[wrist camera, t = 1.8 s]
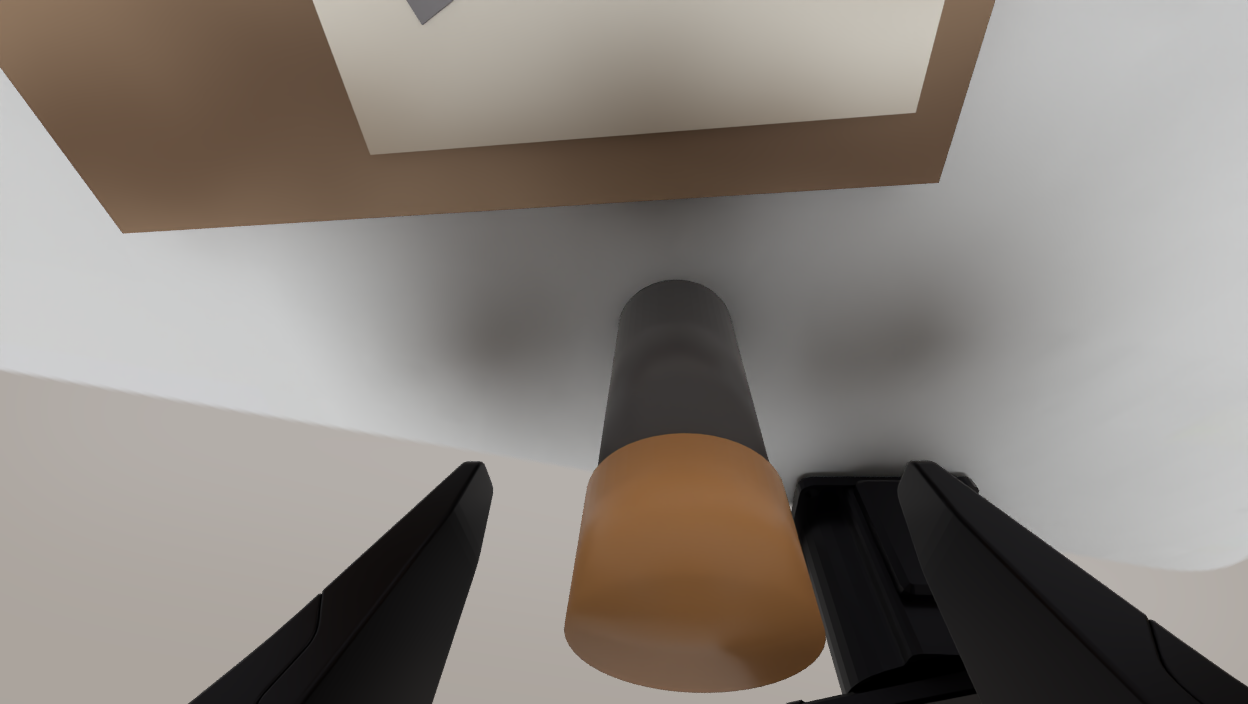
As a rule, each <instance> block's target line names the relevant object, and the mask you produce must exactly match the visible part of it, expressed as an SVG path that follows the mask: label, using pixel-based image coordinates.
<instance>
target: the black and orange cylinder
mask: <svg viewBox="0 0 1248 704" xmlns="http://www.w3.org/2000/svg"><path fill="white" fill-rule="evenodd" d="M564 632H565V637H566V640H567V642H568V644H569V646H570V647H571V649H572V650H573V651H574V652H575V653H576V654H577V655H578V656H579V657H580V658H581V659H582V660H583V661H585V662H586V663H587V664H589V665H590V666H592V667H594V668H595V669H597V670H599V671H601V672H603V673H605V674H607V675H610V676H612V677H615V678H617V679H620V680H623V681H626V682H630V683H633V684H637V685H641V686H645V687H651V688H656V689H661V690H669V691H678V692H692V693H713V692H714V693H715V692H730V691H738V690H746V689H752V688H757V687H761V686H765V685H769V684H772V683H776V682H778V681H781V680H784V679H787V678H789V677H791V676H793V675H795V674H797V673H799V672H801V671H802V670H804V669H806V668H807V667H808V666H809V665H811V664H812V663H813V662H814V661H815V660H816V659H817V658H818V657H819V655H820V653H821V652H822V650H823V648H824V645H825V641H826V635H825V629H824V625H823V622H822V618H821V615H820V611H819V608H818V604H817V601H816V597H815V594H814V590H813V587H812V583H811V580H810V576H809V573H808V569H807V566H806V562H805V559H804V555H803V552H802V548H801V545H800V541H799V538H798V534H797V531H796V527H795V524H794V520H793V517H792V513H791V510H790V506H789V503H788V499H787V496H786V492H785V489H784V486H783V483H782V480H781V478H780V476H779V474H778V473H777V471H776V470H775V468H774V467H773V466H772V465H771V464H770V463H769V460H768V457H767V453H766V449H765V445H764V442H763V438H762V434H761V430H760V427H759V423H758V419H757V415H756V412H755V408H754V404H753V400H752V397H751V393H750V389H749V385H748V382H747V378H746V374H745V370H744V366H743V363H742V359H741V355H740V351H739V348H738V344H737V340H736V336H735V333H734V329H733V325H732V321H731V318H730V314H729V312H728V309H727V307H726V305H725V304H724V303H723V301H722V300H721V299H720V298H719V297H718V296H717V295H716V294H715V293H714V292H713V291H711V290H710V289H708V288H706V287H704V286H702V285H700V284H697V283H694V282H690V281H683V280H669V281H663V282H658V283H655V284H653V285H650V286H648V287H646V288H644V289H642V290H641V291H639V292H638V293H637V294H636V295H634V296H633V297H632V298H631V299H630V301H629V302H628V303H627V304H626V306H625V307H624V309H623V311H622V313H621V316H620V320H619V326H618V332H617V339H616V346H615V353H614V360H613V366H612V373H611V380H610V387H609V394H608V401H607V407H606V414H605V421H604V428H603V435H602V442H601V448H600V455H599V462H598V467H597V468H596V469H595V470H594V472H593V474H592V476H591V477H590V480H589V483H588V486H587V491H586V497H585V503H584V509H583V515H582V521H581V528H580V534H579V540H578V546H577V552H576V558H575V564H574V570H573V576H572V582H571V589H570V595H569V602H568V607H567V613H566V619H565V627H564Z"/></svg>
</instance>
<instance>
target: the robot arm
mask: <svg viewBox="0 0 1248 704" xmlns="http://www.w3.org/2000/svg"><path fill="white" fill-rule="evenodd" d="M978 493H979V490H978V488H977V487H976V485H975V484H974V482H973V481H972V480H971V479H970V478H968V477H954V476H953V475H952V474H950V473H949V472H947V471H946V470H945V469H943V468H942V467H940V466H939V465H938V464H936V463H934V462H932V461H910V462H909V463H908V464H907V465H906V468H905V470H904V473H903V475H902V477H807V478H804V479H802V480H801V481H799V482H798V484H797V488H796V492H795V497H794V501H793V506H792V511H791V513H792V517H793V520H794V524H795V527H796V531H797V534H798V538H799V541H800V545H801V548H802V552H803V555H804V559H805V562H806V566H807V569H808V573H809V576H810V580H811V583H812V587H813V590H814V594H815V597H816V601H817V604H818V608H819V611H820V615H821V618H822V622H823V625H824V629H825V635H826V638H827V642H828V646H829V649H830V653H831V656H832V660H833V663H834V667H835V670H836V673H837V677H838V680H839V684H840V688H841V691H842V695H837V696H833V697H828V698H824V699H819V700H814V701H810V702H804V701H802V700H799V701H794V702H789V703H787V704H1248V687H1247V686H1246V685H1244V684H1243V683H1241V682H1240V681H1238V680H1237V679H1235V678H1234V677H1232V676H1231V675H1229V674H1228V673H1227V672H1225V671H1224V670H1222V669H1221V668H1220V667H1218V666H1217V665H1215V664H1214V663H1213V662H1211V661H1209V660H1208V659H1207V658H1205V657H1204V656H1203V655H1201V654H1200V653H1198V652H1197V651H1196V650H1194V649H1193V648H1191V647H1190V646H1188V645H1187V644H1186V643H1184V642H1183V641H1181V640H1180V639H1178V638H1177V637H1176V636H1174V635H1173V634H1172V633H1170V632H1169V631H1167V630H1166V629H1165V628H1163V627H1162V626H1160V625H1159V624H1158V623H1156V622H1155V621H1153V620H1148V618H1147V616H1146V615H1145V614H1144V613H1142V612H1141V611H1139V610H1138V609H1137V608H1135V607H1134V606H1133V605H1131V604H1130V603H1129V602H1127V601H1126V600H1124V599H1123V598H1122V597H1120V596H1119V595H1117V594H1116V593H1115V592H1113V591H1112V590H1111V589H1109V588H1108V587H1106V586H1105V585H1104V584H1102V583H1101V582H1100V581H1098V580H1097V579H1095V578H1094V577H1093V576H1091V575H1090V574H1088V573H1087V572H1086V571H1084V570H1083V569H1082V568H1080V567H1078V566H1077V565H1076V564H1075V563H1073V562H1072V561H1070V560H1069V559H1068V558H1066V557H1065V556H1064V555H1062V554H1061V553H1059V552H1058V551H1057V550H1055V549H1054V548H1052V547H1051V546H1050V545H1048V544H1047V543H1046V542H1044V541H1043V540H1041V539H1040V538H1039V537H1037V536H1036V535H1035V534H1033V533H1032V532H1030V531H1029V530H1028V529H1026V528H1025V527H1023V526H1022V525H1021V524H1019V523H1018V522H1017V521H1015V520H1014V519H1012V518H1011V517H1010V516H1008V515H1007V514H1005V513H1004V512H1003V511H1001V510H1000V509H999V508H997V507H996V506H994V505H993V504H992V503H990V502H989V501H988V500H986V499H985V498H983V497H982V496H981V495H979V494H978ZM492 496H493V486H492V483H491V480H490V477H489V475H488V472H487V469H486V467H485V465H484V463H483V462H480V461H471V462H470V461H468V462H464V463H463V464H461V465H460V466H459V467H458V468H457V469H456V470H454V471H453V472H452V473H451V474H450V475H449V476H448V477H447V478H446V479H445V480H444V481H442V482H441V483H440V484H439V485H438V486H437V487H436V488H435V489H434V490H433V491H431V492H430V493H429V494H428V495H427V496H426V497H425V498H424V499H423V500H422V501H420V502H419V503H418V504H417V505H416V506H415V507H414V508H413V509H412V510H411V511H410V512H408V513H407V514H406V515H405V516H404V517H403V518H402V519H401V520H400V521H398V522H397V523H396V524H395V525H394V526H393V527H392V528H391V529H390V530H389V531H387V532H386V533H385V534H384V535H383V536H382V537H381V538H380V539H379V540H378V541H377V542H375V543H374V544H373V545H372V546H371V547H370V548H369V549H368V550H367V551H366V552H364V553H363V554H362V555H361V556H360V557H359V558H358V559H357V560H356V561H355V562H353V563H352V564H351V565H350V566H349V567H348V568H347V569H346V570H345V571H344V572H342V573H341V574H340V575H339V576H338V577H337V578H336V579H335V580H334V581H333V582H332V583H330V584H329V585H328V586H327V587H326V588H325V589H324V590H323V591H322V594H318V595H317V596H316V597H315V598H314V599H313V600H312V601H310V602H309V603H308V604H307V605H306V606H305V607H304V608H303V609H302V610H300V611H299V612H298V613H297V614H296V615H295V616H294V617H293V618H291V619H290V620H289V621H288V622H287V623H286V624H285V625H283V626H282V627H281V628H280V629H279V630H278V631H277V632H275V633H274V634H273V635H272V636H271V637H270V638H268V639H267V640H266V641H265V642H264V643H262V644H261V645H260V646H259V647H258V648H256V649H255V650H254V651H253V652H252V653H250V654H249V655H248V656H247V657H246V658H244V659H243V660H242V661H241V662H239V663H238V664H237V665H236V666H234V667H233V668H232V669H231V670H230V671H228V672H227V673H226V674H225V675H223V676H222V677H221V678H220V679H219V680H217V681H216V682H215V683H213V684H212V685H211V686H210V687H208V688H207V689H206V690H205V691H203V692H202V693H201V694H200V695H199V696H197V697H196V698H195V699H193V700H192V701H191V702H190V703H188V704H432V702H433V699H434V696H435V693H436V690H437V687H438V684H439V680H440V678H441V675H442V672H443V669H444V666H445V663H446V659H447V656H448V653H449V650H450V647H451V644H452V641H453V638H454V635H455V632H456V629H457V625H458V623H459V619H460V616H461V613H462V610H463V607H464V604H465V601H466V598H467V595H468V592H469V589H470V586H471V583H472V580H473V577H474V574H475V571H476V567H477V564H478V560H479V556H480V552H481V547H482V543H483V538H484V533H485V529H486V524H487V519H488V515H489V510H490V505H491V500H492Z"/></svg>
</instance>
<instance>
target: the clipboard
mask: <svg viewBox="0 0 1248 704" xmlns="http://www.w3.org/2000/svg"><path fill="white" fill-rule="evenodd" d="M994 3H995V0H0V68H1V69H2V70H3V72H4V73H5V74H6V76H7V77H8V78H9V80H10V81H11V82H12V84H13V85H14V87H15V88H16V89H17V91H18V92H19V93H20V95H21V96H22V97H23V99H24V100H25V101H26V103H27V104H28V106H29V107H30V108H31V110H32V111H33V112H34V114H35V115H36V116H37V118H38V119H39V120H40V122H41V123H42V125H43V126H44V127H45V129H46V130H47V131H48V133H49V134H50V135H51V137H52V138H53V139H54V141H55V142H56V143H57V145H58V146H59V148H60V149H61V150H62V152H63V153H64V154H65V156H66V157H67V158H68V160H69V161H70V162H71V164H72V165H73V167H74V168H75V169H76V171H77V172H78V173H79V175H80V176H81V177H82V179H83V180H84V181H85V183H86V184H87V186H88V187H89V188H90V190H91V191H92V192H93V194H94V195H95V196H96V198H97V199H98V200H99V202H100V203H101V205H102V206H103V207H104V209H105V210H106V211H107V213H108V214H109V215H110V217H111V218H112V219H113V221H114V222H115V224H116V225H117V226H118V228H119V229H120V230H121V232H122V233H138V232H154V231H170V230H186V229H202V228H218V227H234V226H250V225H266V224H282V223H298V222H315V221H331V220H347V219H363V218H379V217H395V216H411V215H427V214H443V213H459V212H475V211H491V210H508V209H524V208H540V207H556V206H572V205H588V204H604V203H620V202H636V201H652V200H668V199H684V198H701V197H717V196H733V195H749V194H765V193H781V192H797V191H813V190H829V189H845V188H861V187H877V186H894V185H910V184H926V183H939V180H940V177H941V174H942V170H943V167H944V164H945V161H946V158H947V154H948V151H949V148H950V145H951V141H952V138H953V135H954V132H955V129H956V125H957V122H958V119H959V116H960V112H961V109H962V106H963V103H964V100H965V96H966V93H967V90H968V87H969V83H970V80H971V77H972V74H973V71H974V67H975V64H976V61H977V58H978V54H979V51H980V48H981V45H982V42H983V38H984V35H985V32H986V29H987V25H988V22H989V19H990V16H991V13H992V9H993V6H994Z"/></svg>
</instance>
